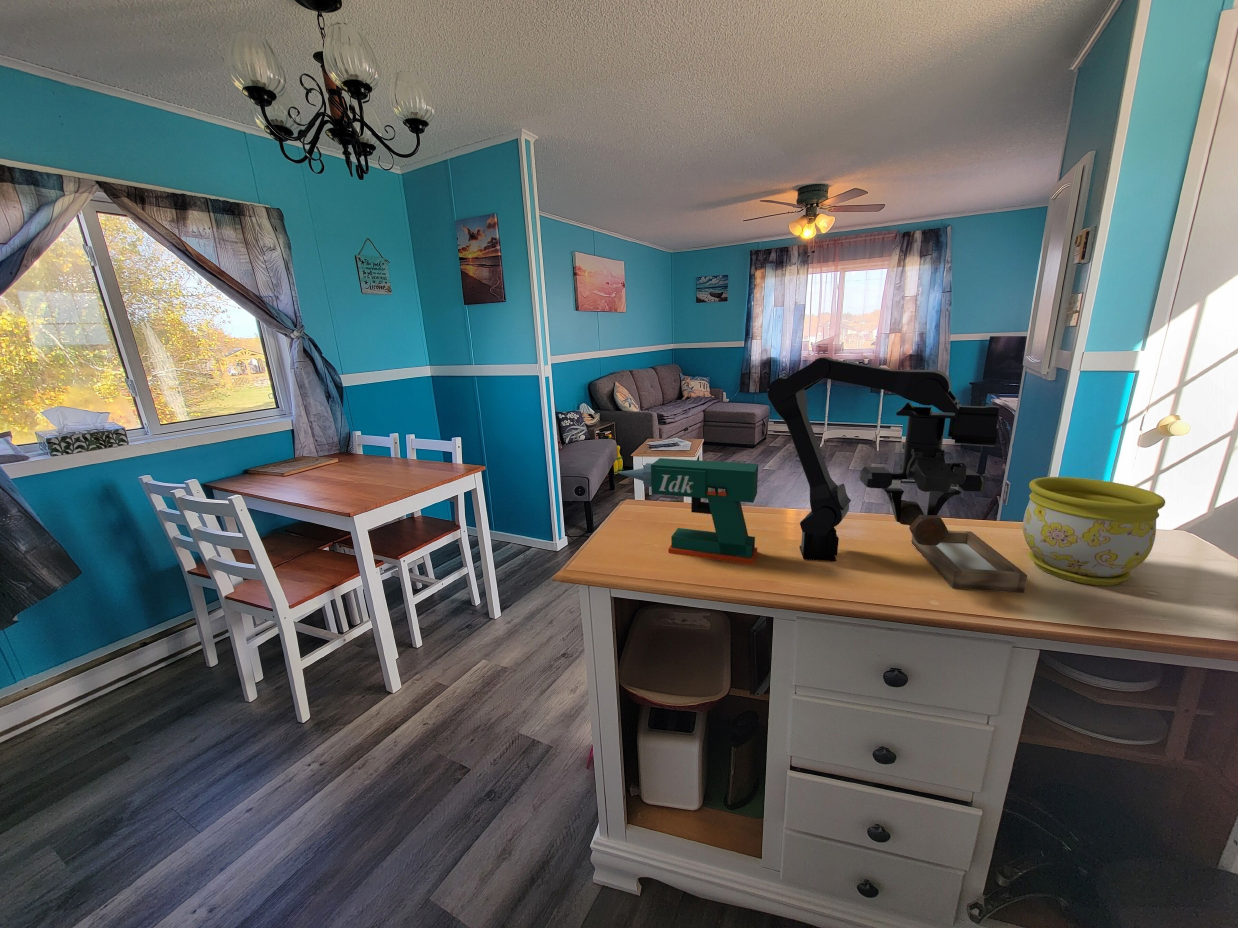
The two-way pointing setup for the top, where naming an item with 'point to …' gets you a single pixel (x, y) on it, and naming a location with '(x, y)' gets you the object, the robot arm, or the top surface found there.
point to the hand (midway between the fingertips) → (913, 522)
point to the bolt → (922, 524)
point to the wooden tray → (972, 564)
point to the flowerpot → (1089, 528)
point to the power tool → (707, 504)
